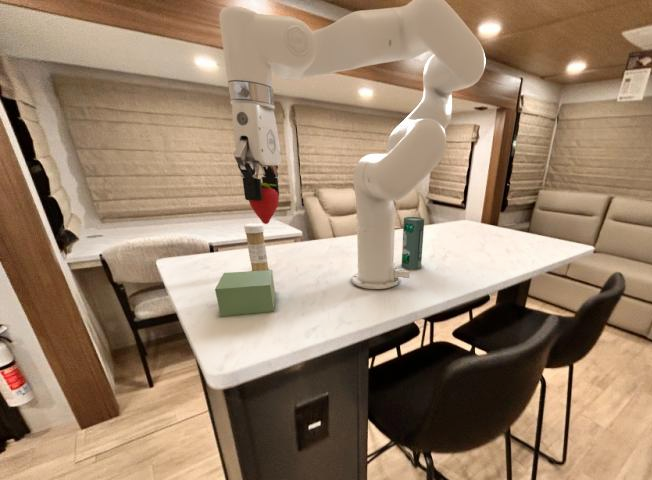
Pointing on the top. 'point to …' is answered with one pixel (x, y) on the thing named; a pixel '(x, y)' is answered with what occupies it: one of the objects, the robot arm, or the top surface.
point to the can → (412, 242)
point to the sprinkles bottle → (256, 246)
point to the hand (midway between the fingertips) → (263, 197)
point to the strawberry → (266, 203)
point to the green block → (245, 292)
